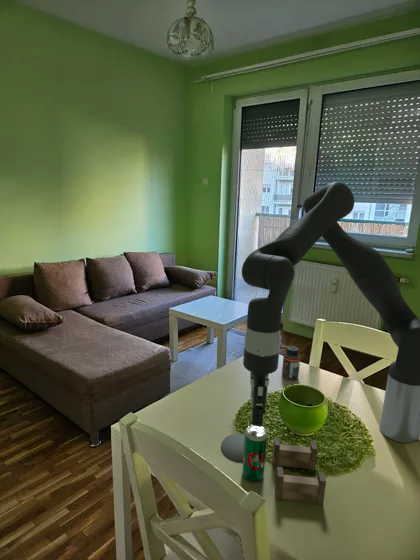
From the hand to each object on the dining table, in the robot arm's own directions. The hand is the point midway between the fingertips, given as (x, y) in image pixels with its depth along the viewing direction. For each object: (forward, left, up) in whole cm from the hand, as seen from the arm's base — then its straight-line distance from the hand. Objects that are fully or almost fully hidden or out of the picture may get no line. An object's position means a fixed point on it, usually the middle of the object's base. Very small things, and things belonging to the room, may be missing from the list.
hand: (256, 413), depth 81 cm
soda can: (0, 0, -16) cm, 16 cm away
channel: (-10, 0, -16) cm, 19 cm away
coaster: (+3, -9, -16) cm, 19 cm away
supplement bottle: (-14, -50, -16) cm, 54 cm away
